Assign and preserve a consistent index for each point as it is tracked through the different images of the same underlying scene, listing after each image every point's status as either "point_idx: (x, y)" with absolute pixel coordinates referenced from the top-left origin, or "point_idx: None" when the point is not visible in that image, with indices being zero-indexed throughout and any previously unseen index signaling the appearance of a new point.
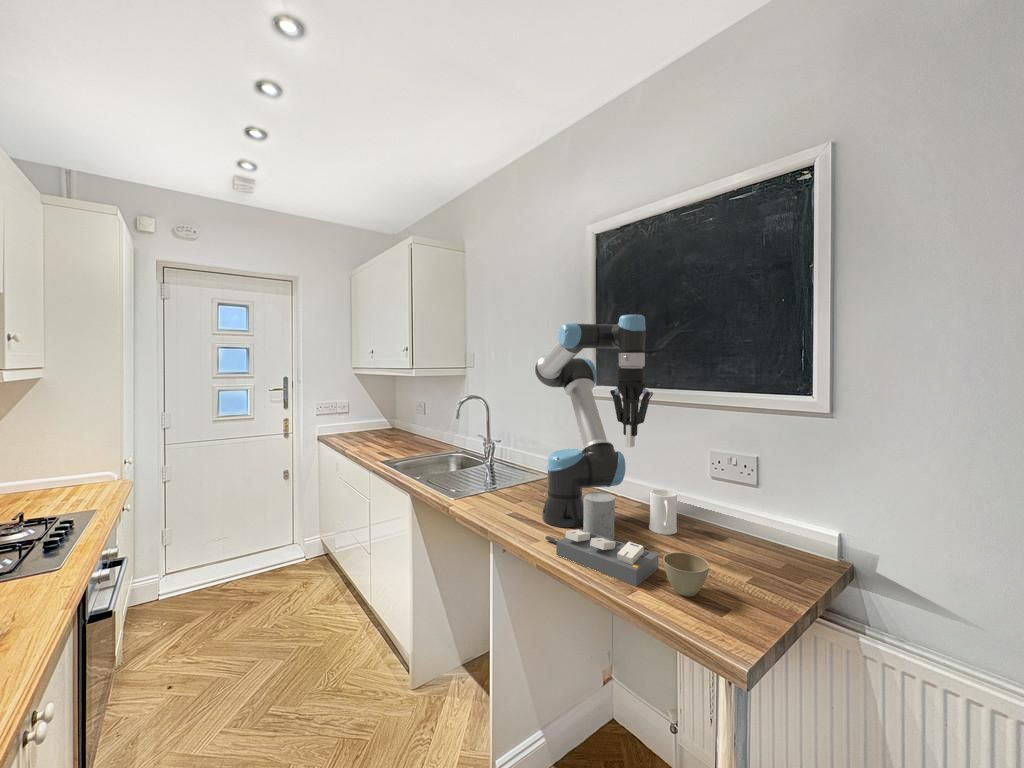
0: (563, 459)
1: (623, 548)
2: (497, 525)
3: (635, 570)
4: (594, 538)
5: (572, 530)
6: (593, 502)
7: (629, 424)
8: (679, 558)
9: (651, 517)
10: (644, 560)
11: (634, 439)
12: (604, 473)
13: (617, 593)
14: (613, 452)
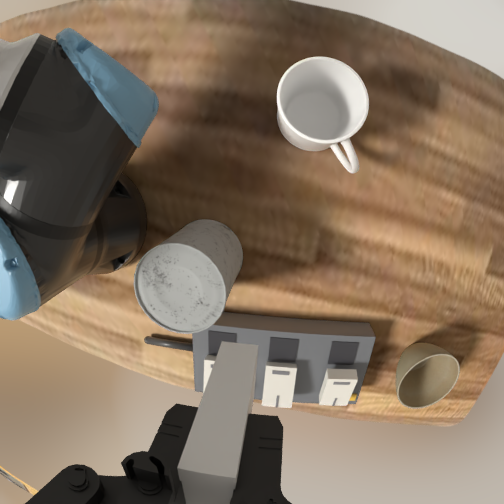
0: (15, 318)
1: (325, 394)
2: (56, 324)
3: (354, 403)
4: (264, 397)
5: (205, 382)
6: (189, 331)
7: (185, 484)
8: (416, 357)
9: (292, 138)
10: (358, 371)
11: (253, 379)
12: (107, 183)
13: (334, 411)
14: (60, 88)
